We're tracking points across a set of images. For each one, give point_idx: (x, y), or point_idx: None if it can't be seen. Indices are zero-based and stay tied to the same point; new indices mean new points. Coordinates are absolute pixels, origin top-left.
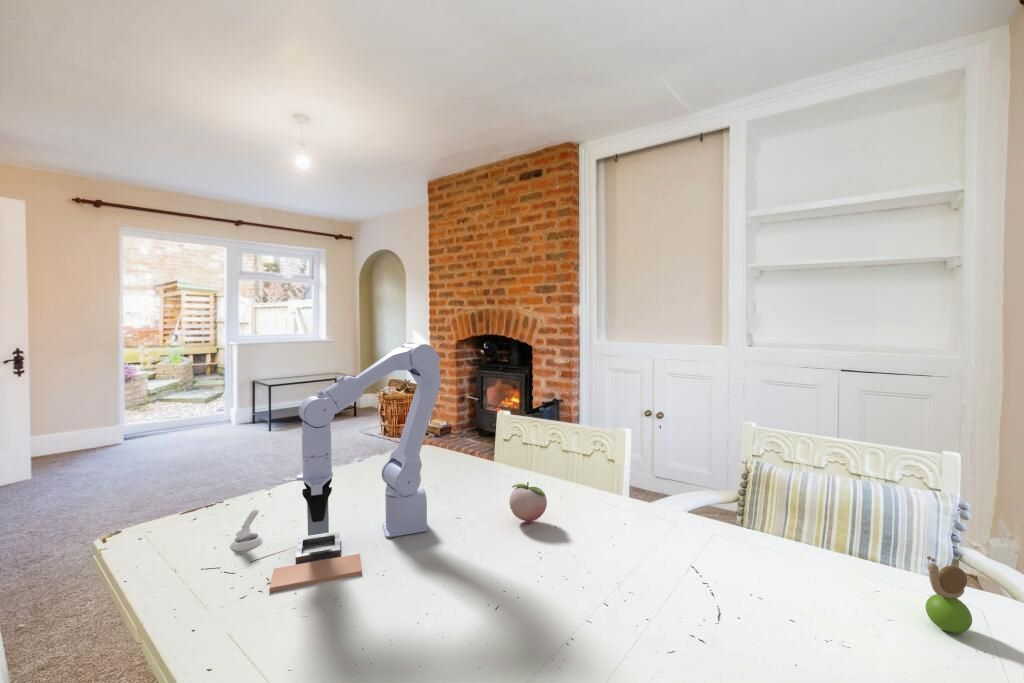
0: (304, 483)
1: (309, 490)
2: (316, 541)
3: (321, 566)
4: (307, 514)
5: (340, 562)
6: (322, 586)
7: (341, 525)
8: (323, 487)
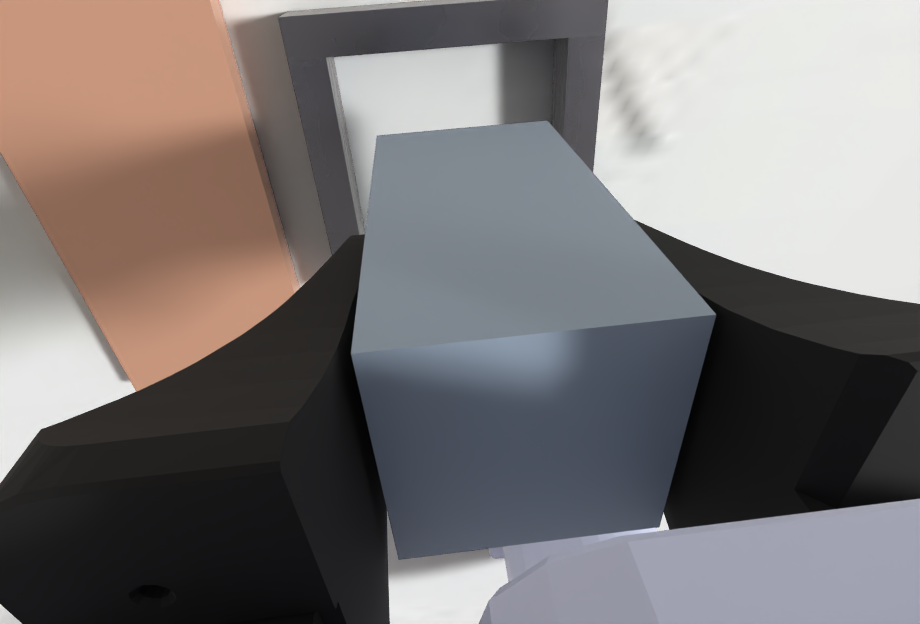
0: (890, 366)
1: (170, 584)
2: (557, 130)
3: (183, 205)
4: (370, 216)
5: (226, 298)
6: (10, 219)
7: (754, 245)
8: (694, 511)
